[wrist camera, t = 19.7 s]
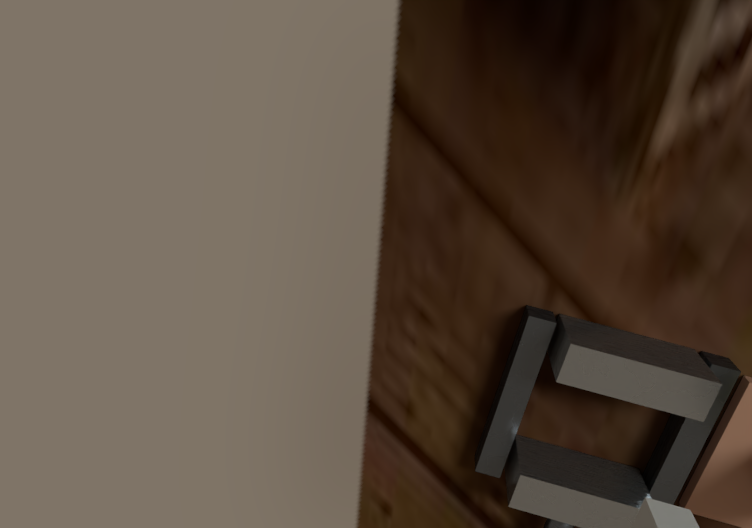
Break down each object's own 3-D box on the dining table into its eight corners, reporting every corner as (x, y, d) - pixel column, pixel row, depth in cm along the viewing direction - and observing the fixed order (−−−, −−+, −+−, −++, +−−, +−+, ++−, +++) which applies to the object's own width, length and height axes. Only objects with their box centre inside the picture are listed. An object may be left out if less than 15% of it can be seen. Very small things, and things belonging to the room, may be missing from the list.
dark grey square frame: (526, 305, 43) (533, 333, 39) (728, 358, 42) (761, 394, 38) (452, 520, 50) (450, 567, 46) (623, 570, 49) (639, 623, 45)
